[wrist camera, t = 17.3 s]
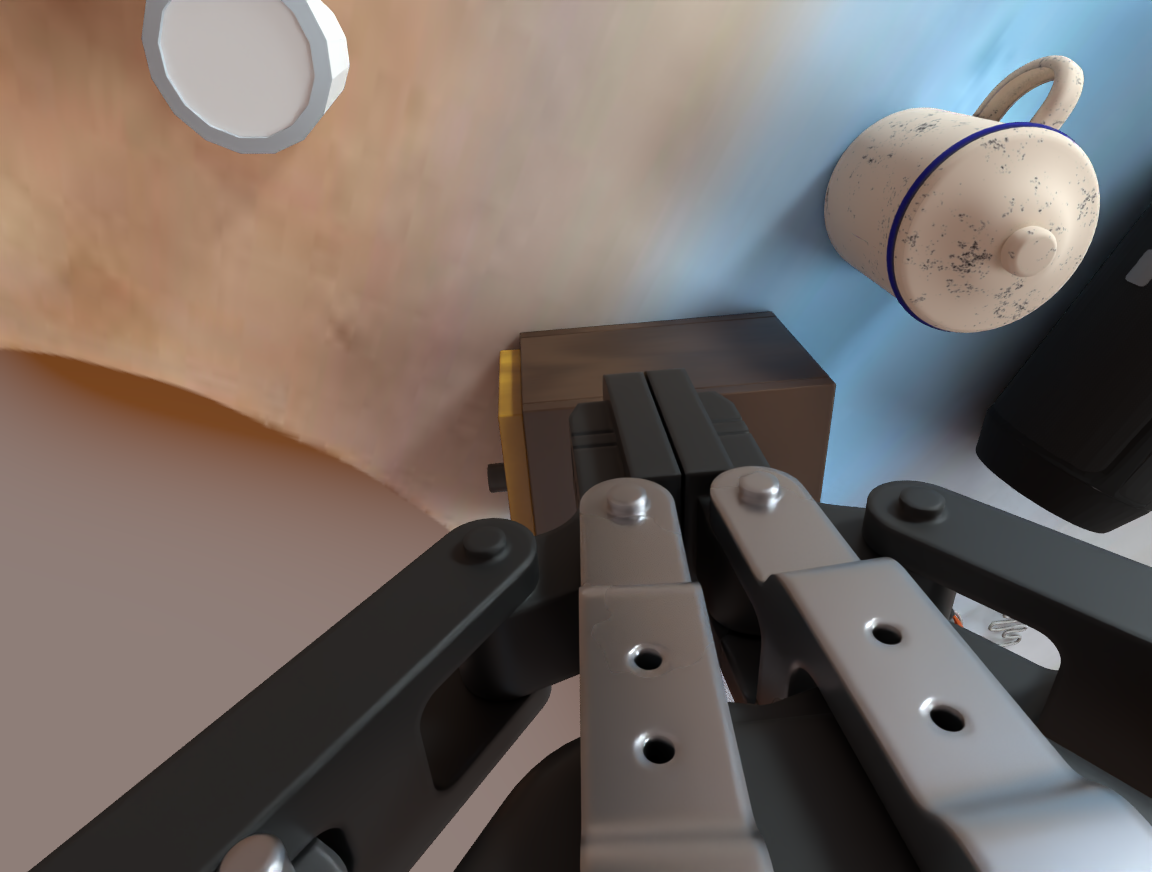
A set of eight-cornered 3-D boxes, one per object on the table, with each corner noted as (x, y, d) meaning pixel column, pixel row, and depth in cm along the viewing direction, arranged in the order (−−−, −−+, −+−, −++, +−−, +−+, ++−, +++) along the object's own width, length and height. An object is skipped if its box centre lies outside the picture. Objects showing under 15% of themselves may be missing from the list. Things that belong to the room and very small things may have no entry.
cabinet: (538, 517, 48) (545, 622, 40) (519, 332, 41) (522, 411, 33) (756, 496, 48) (807, 596, 40) (772, 311, 42) (837, 383, 34)
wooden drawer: (501, 522, 47) (500, 607, 40) (478, 352, 41) (472, 418, 34) (726, 500, 47) (762, 580, 41) (736, 329, 41) (780, 391, 35)
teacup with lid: (910, 301, 42) (1036, 390, 32) (784, 234, 40) (877, 308, 30) (1059, 97, 37) (1263, 127, 27) (925, 6, 35) (1096, 1, 25)
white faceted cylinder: (389, 28, 33) (362, 32, 27) (324, 160, 36) (287, 189, 30) (242, -75, 31) (178, -97, 25) (185, 73, 34) (113, 86, 28)
